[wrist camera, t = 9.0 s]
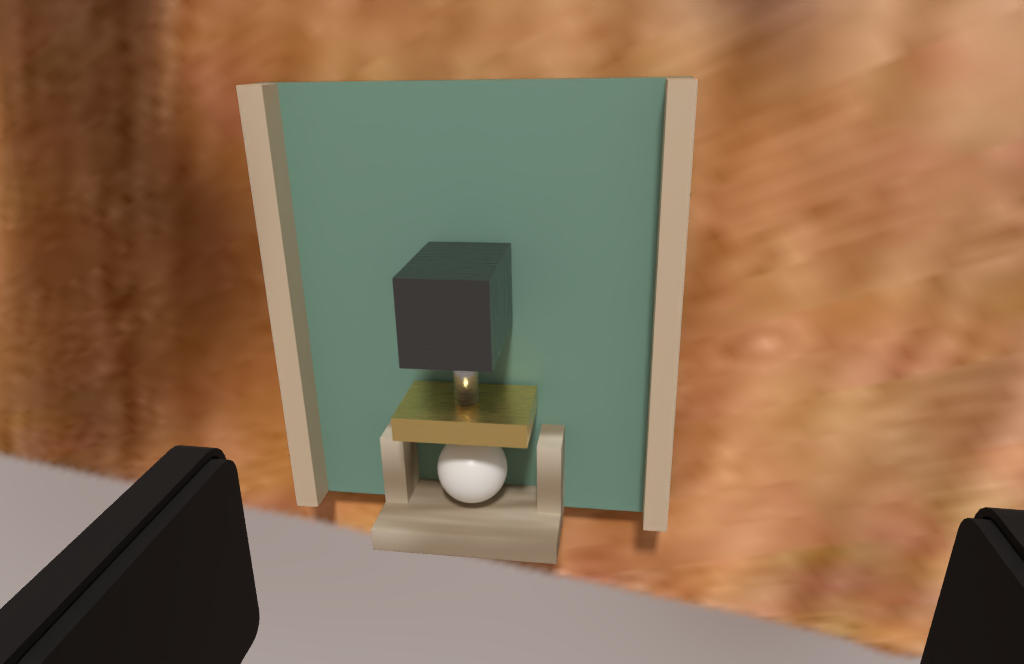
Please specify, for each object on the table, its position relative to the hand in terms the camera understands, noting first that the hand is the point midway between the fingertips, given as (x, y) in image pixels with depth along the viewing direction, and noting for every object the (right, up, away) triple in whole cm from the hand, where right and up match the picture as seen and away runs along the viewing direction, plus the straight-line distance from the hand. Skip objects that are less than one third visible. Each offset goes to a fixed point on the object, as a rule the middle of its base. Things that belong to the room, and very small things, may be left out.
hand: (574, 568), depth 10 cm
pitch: (-3, +4, +28) cm, 29 cm away
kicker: (-3, +3, +27) cm, 28 cm away
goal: (-3, -4, +30) cm, 31 cm away
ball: (-3, -4, +28) cm, 29 cm away
